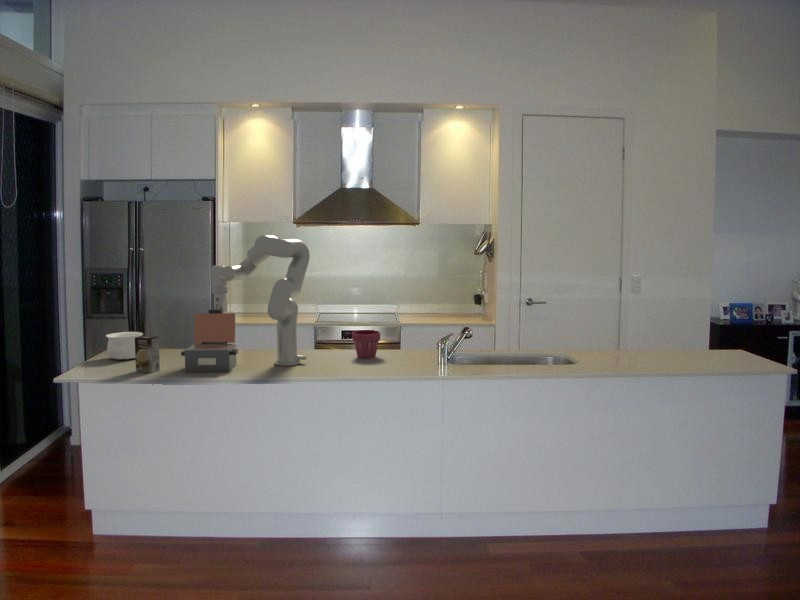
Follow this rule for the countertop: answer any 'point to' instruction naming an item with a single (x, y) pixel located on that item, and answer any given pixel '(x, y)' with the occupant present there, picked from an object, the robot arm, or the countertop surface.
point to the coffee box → (147, 354)
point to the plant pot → (366, 343)
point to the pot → (122, 345)
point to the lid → (215, 327)
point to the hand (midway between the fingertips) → (220, 327)
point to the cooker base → (210, 357)
